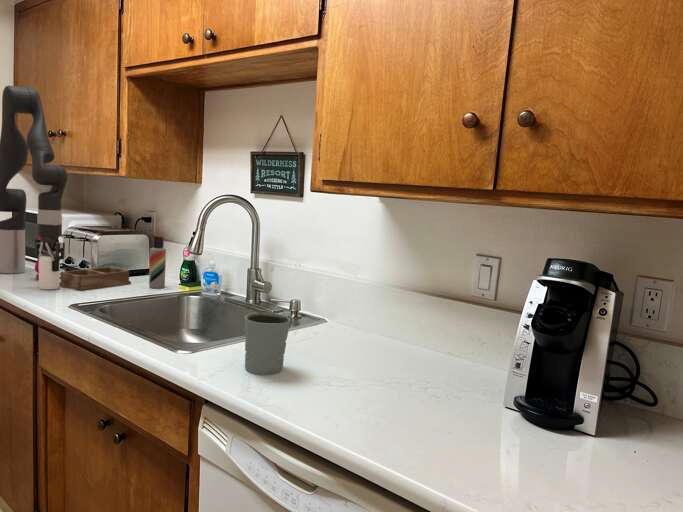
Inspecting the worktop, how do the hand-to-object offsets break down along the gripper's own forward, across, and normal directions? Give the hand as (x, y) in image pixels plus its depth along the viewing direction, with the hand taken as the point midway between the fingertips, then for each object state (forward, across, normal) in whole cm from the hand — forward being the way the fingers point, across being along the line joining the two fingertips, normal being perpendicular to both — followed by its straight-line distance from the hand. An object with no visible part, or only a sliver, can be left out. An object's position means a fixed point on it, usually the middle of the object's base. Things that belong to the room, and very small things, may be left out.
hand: (49, 269), depth 181 cm
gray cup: (+7, +107, -16) cm, 108 cm away
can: (+7, 0, 0) cm, 7 cm away
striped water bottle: (+7, +21, +30) cm, 37 cm away
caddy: (+7, +4, +16) cm, 17 cm away
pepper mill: (+7, -16, +8) cm, 19 cm away
